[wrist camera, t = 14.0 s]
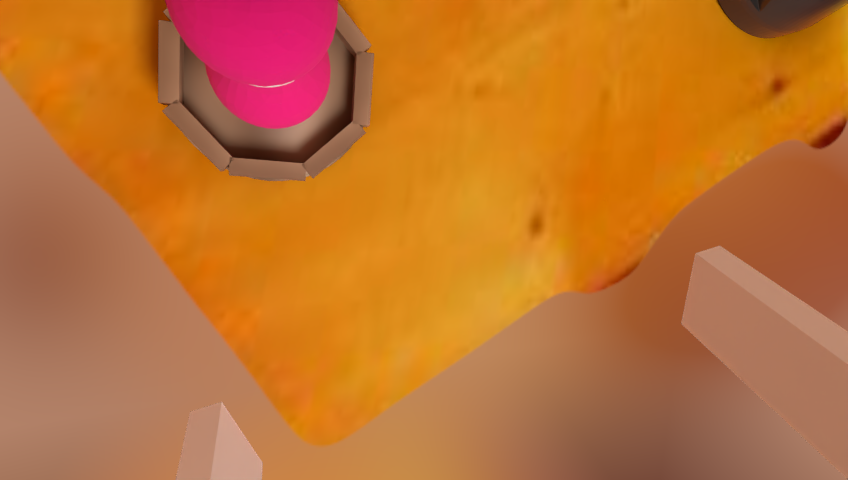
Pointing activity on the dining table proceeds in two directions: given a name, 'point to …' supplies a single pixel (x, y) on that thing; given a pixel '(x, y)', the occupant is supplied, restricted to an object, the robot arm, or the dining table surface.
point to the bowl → (263, 147)
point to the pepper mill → (262, 54)
